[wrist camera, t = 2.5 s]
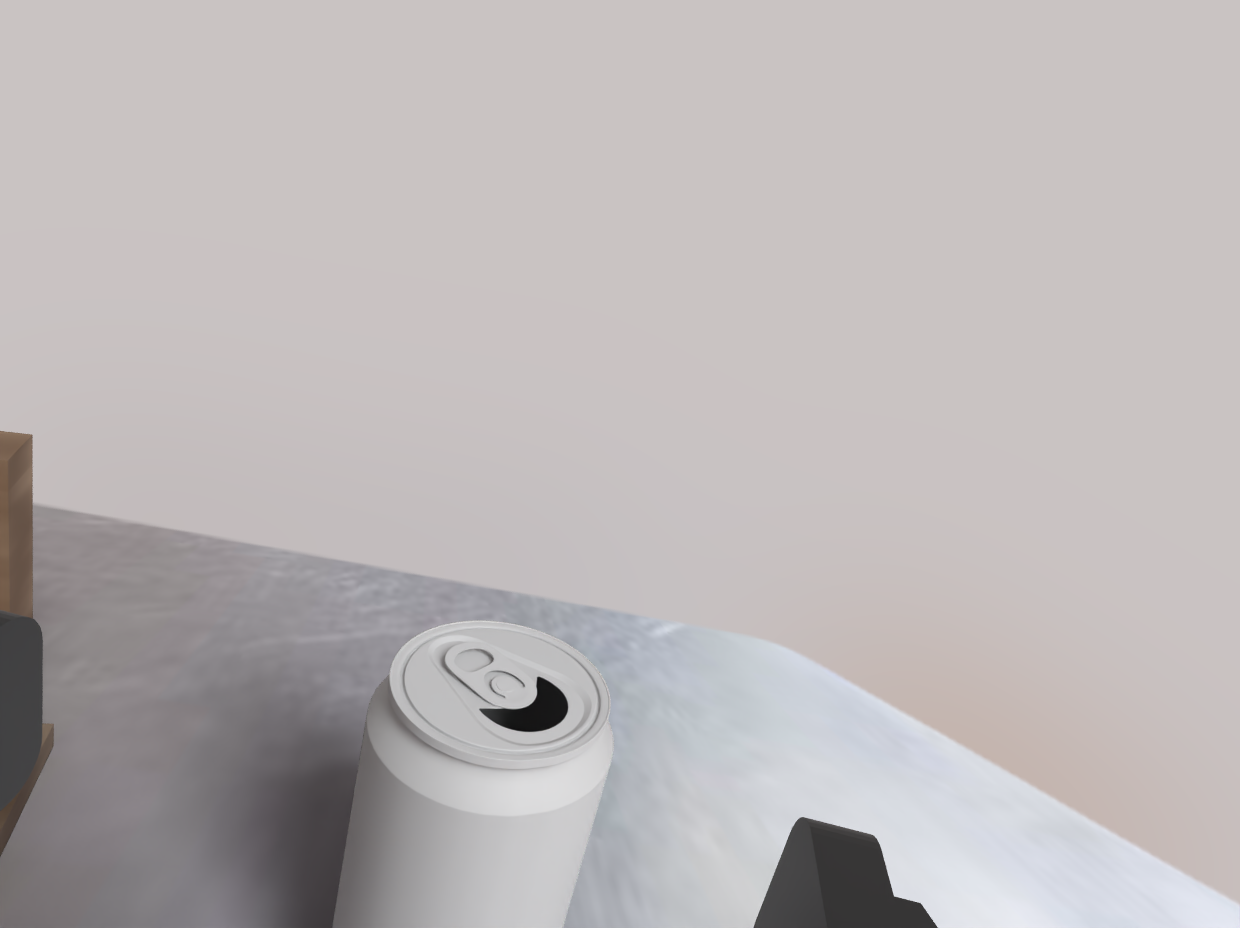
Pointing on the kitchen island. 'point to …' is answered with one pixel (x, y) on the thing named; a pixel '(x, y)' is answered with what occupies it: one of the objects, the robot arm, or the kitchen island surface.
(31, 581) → the wooden rack
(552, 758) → the beverage can
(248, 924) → the kitchen island surface
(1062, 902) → the kitchen island surface
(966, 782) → the kitchen island surface
